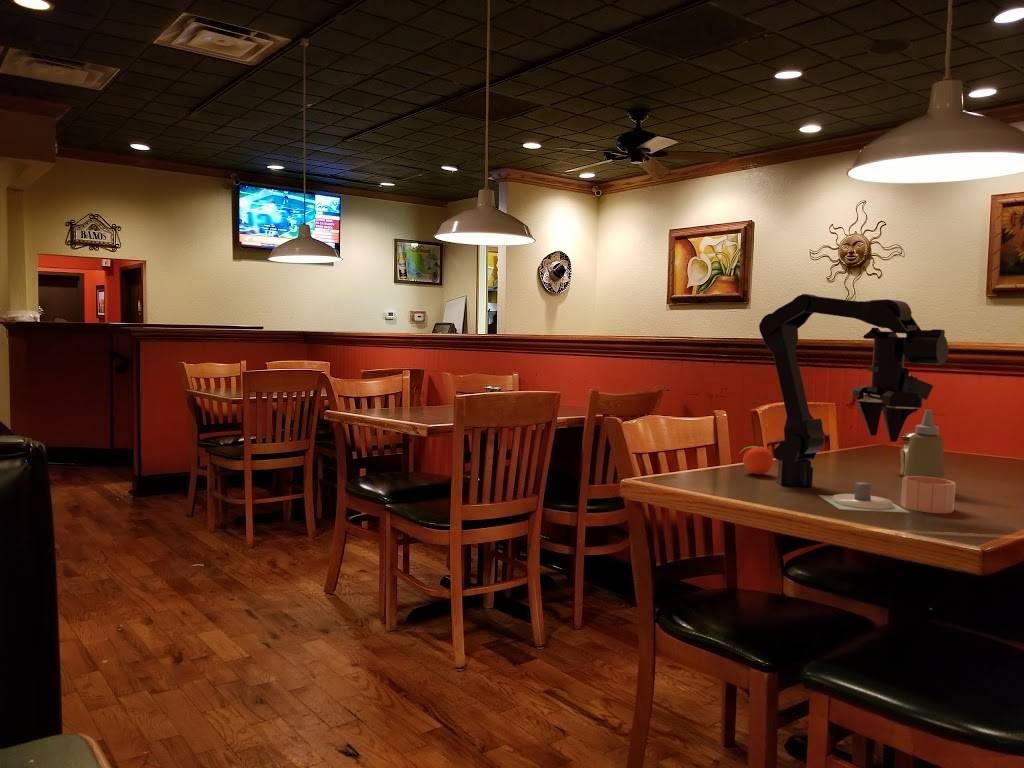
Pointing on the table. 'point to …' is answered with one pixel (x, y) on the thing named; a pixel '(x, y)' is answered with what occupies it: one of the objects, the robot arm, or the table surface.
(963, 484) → the table surface
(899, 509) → the mat
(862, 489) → the lid
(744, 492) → the table surface
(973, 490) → the table surface
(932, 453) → the squeeze bottle
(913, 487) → the bowl
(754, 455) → the clementine
